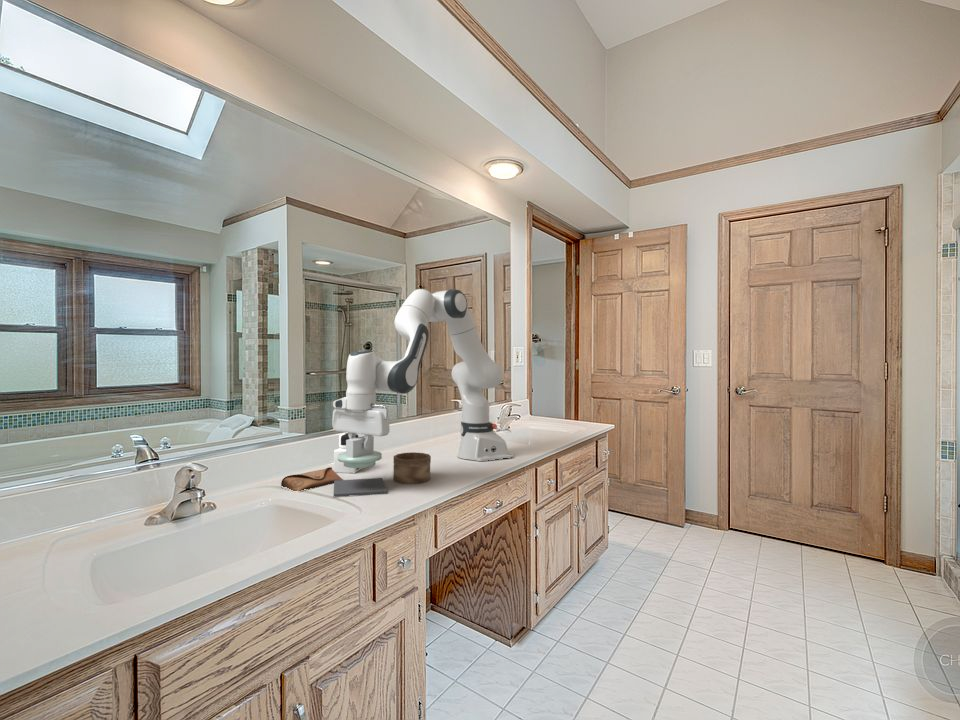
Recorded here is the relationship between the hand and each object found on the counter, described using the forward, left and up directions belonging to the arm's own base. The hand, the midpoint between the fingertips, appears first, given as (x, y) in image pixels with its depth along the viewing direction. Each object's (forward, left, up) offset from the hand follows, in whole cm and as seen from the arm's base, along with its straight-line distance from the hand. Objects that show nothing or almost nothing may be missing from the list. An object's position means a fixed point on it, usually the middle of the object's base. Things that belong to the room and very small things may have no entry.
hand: (360, 448), depth 140 cm
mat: (0, 0, -12) cm, 12 cm away
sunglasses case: (+13, -8, -13) cm, 20 cm away
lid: (0, 0, -5) cm, 5 cm away
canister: (-17, -7, -12) cm, 22 cm away
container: (+3, -23, -12) cm, 26 cm away
